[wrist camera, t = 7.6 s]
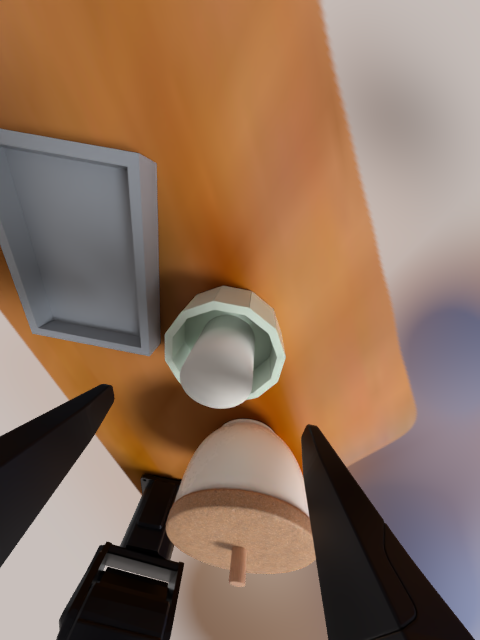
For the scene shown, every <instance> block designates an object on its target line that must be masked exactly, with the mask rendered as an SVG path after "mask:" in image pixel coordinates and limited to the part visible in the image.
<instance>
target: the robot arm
mask: <svg viewBox="0 0 480 640" xmlns="http://www.w3.org/2000/svg"><path fill="white" fill-rule="evenodd" d="M113 402H114V392H113V387H112V386H111V385H107V384H101V385H99V386H97V387H95V388H93V389H91V390H89V391H87V392H85V393H83V394H81V395H79V396H77V397H76V398H74V399H72V400H70V401H68V402H66V403H64V404H62V405H60V406H58V407H56V408H54V409H52V410H50V411H49V412H47V413H45V414H43V415H41V416H39V417H37V418H35V419H33V420H31V421H29V422H27V423H25V424H23V425H21V426H19V427H18V428H15V429H14V430H12V431H10V432H8V433H6V434H4V435H2V436H0V567H1V566H2V564H3V563H4V561H5V560H6V559H7V557H8V556H9V555H10V553H11V552H12V550H13V549H14V548H15V546H16V545H17V543H18V542H19V540H20V539H21V538H22V536H23V535H24V534H25V532H26V531H27V529H28V528H29V526H30V525H31V524H32V522H33V521H34V519H35V518H36V517H37V515H38V514H39V512H40V511H41V509H42V508H43V507H44V505H45V504H46V503H47V501H48V500H49V498H50V497H51V496H52V494H53V493H54V491H55V490H56V489H57V487H58V486H59V484H60V483H61V482H62V480H63V479H64V477H65V476H66V475H67V473H68V472H69V470H70V469H71V467H72V466H73V465H74V463H75V462H76V460H77V459H78V458H79V456H80V455H81V453H82V452H83V450H84V449H85V448H86V446H87V445H88V444H89V442H90V441H91V439H92V438H93V436H94V435H95V433H96V431H97V430H98V428H99V426H100V425H101V423H102V421H103V419H104V418H105V416H106V414H107V413H108V411H109V409H110V407H111V406H112V404H113ZM301 444H302V461H303V477H304V485H305V492H306V498H307V505H308V511H309V518H310V524H311V530H312V537H313V543H314V550H315V556H316V562H317V568H318V576H319V582H320V587H321V595H322V601H323V608H324V614H325V621H326V627H327V634H328V640H475V639H474V638H473V637H472V635H471V634H470V633H469V632H468V630H467V629H466V628H465V627H464V625H463V624H462V623H461V621H460V620H459V619H458V618H457V616H456V615H455V614H454V613H453V611H452V610H451V609H450V608H449V606H448V605H447V604H446V603H445V601H444V600H443V599H442V598H441V596H440V595H439V594H438V593H437V591H436V590H435V588H434V587H433V586H432V585H431V583H430V582H429V581H428V580H427V578H426V577H425V576H424V574H423V573H422V572H421V571H420V569H419V568H418V567H417V566H416V564H415V563H414V561H413V560H412V559H411V557H410V556H409V555H408V554H407V552H406V551H405V549H404V548H403V546H402V545H401V544H400V542H399V541H398V540H397V538H396V537H395V535H394V534H393V533H392V531H391V530H390V528H389V527H388V525H387V524H386V523H384V520H383V519H382V517H381V516H380V514H379V513H378V511H377V510H376V509H375V507H374V506H373V504H372V503H371V502H370V500H369V499H368V497H367V496H366V494H365V493H364V492H363V490H362V489H361V487H360V486H359V485H358V483H357V482H356V480H355V479H354V478H353V476H352V475H351V473H350V472H349V470H348V469H347V468H346V466H345V465H344V463H343V462H342V460H341V459H340V458H339V456H338V455H337V453H336V452H335V451H334V449H333V448H332V446H331V445H330V443H329V442H328V441H327V439H326V438H325V436H324V435H323V434H322V432H321V431H320V429H319V428H318V427H317V426H315V425H310V424H308V425H307V426H306V428H305V430H304V432H303V434H302V438H301ZM180 484H181V482H180V481H175V480H170V479H165V478H161V477H156V476H151V475H146V474H144V475H142V477H141V486H142V494H143V495H142V497H141V499H140V502H139V504H138V506H137V509H136V511H135V513H134V515H133V518H132V520H131V522H130V524H129V527H128V529H127V531H126V534H125V536H124V538H123V541H122V543H121V545H120V546H116V545H113V544H112V543H110V542H106V544H105V545H100V546H99V548H98V550H97V552H96V554H95V556H94V558H93V560H92V562H91V564H90V566H89V567H88V569H87V571H86V573H85V575H84V577H83V578H82V580H81V582H80V583H79V585H78V587H77V589H76V590H75V592H74V594H73V595H72V597H71V599H70V601H69V603H68V604H67V606H66V608H65V610H64V611H63V613H62V615H61V617H60V619H59V628H60V631H59V634H58V636H57V639H56V640H169V639H170V636H171V630H172V625H173V621H174V615H175V610H176V604H177V599H178V594H179V588H180V583H181V578H182V572H183V567H184V563H183V562H179V563H178V562H174V561H171V560H170V559H171V555H172V551H173V548H174V544H173V543H172V542H171V541H170V539H169V538H168V536H167V533H166V522H167V518H168V515H169V512H170V510H171V508H172V505H173V504H174V502H175V499H176V495H177V492H178V489H179V486H180ZM105 565H107V566H110V567H114V568H118V569H122V570H125V571H130V572H133V573H136V574H140V575H144V576H148V577H151V578H155V579H159V580H163V581H166V582H169V584H168V583H166V582H162V581H159V580H155V579H151V578H147V577H144V576H140V575H136V574H133V573H129V572H125V571H121V570H118V569H114V568H110V567H107V569H106V571H103V569H104V567H105Z"/></svg>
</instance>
